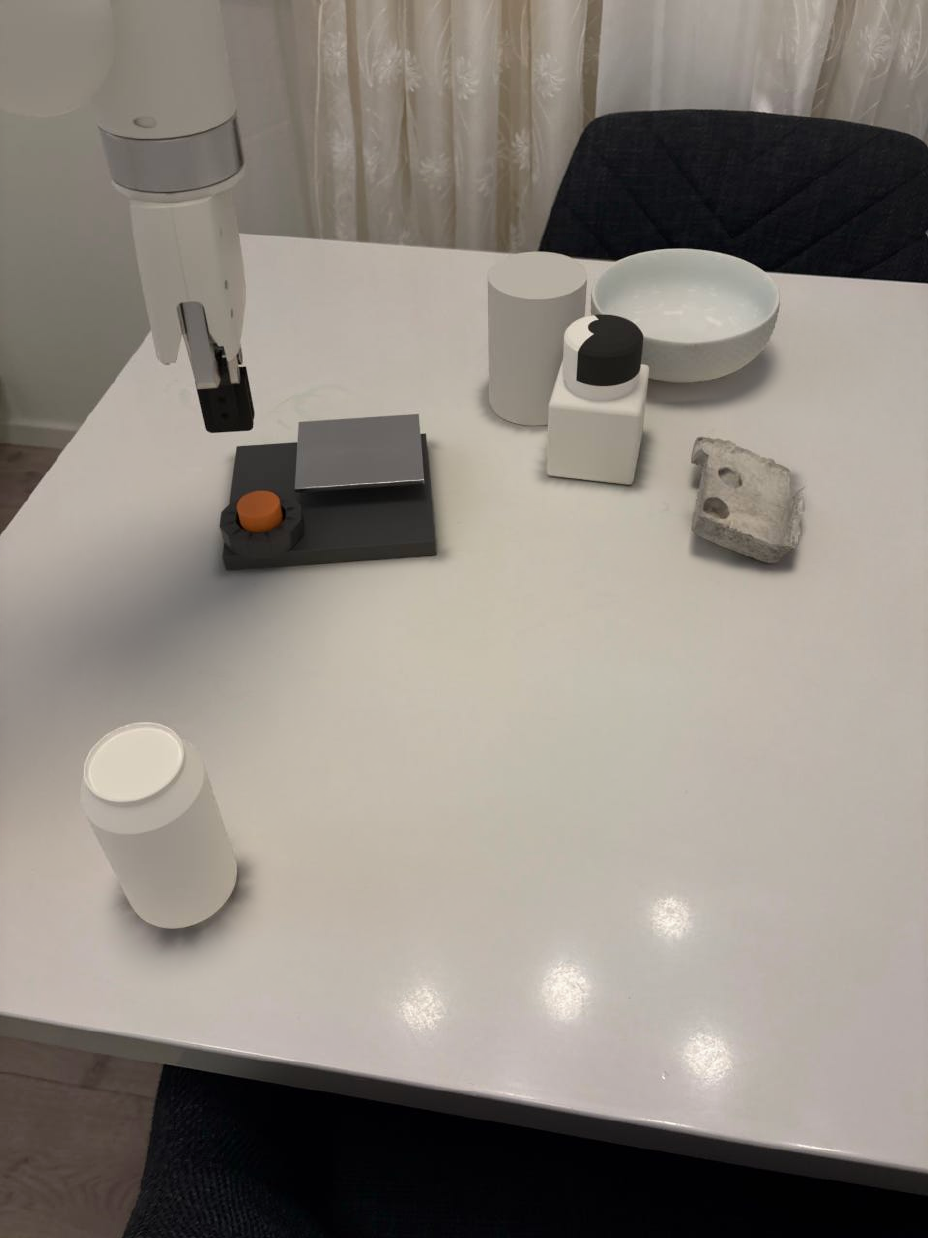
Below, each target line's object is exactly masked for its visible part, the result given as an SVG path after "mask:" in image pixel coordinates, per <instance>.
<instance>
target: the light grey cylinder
mask: <svg viewBox="0 0 928 1238" xmlns="http://www.w3.org/2000/svg"><path fill="white" fill-rule="evenodd" d="M587 285H588V272H587V269H586V267H585V266H584V265H583V264H582V263H581V262H579V261H578V260H577V259H575V258H572V257H570V256H568V255H565V254H562V253H557V252H550V251H525V252H519V253H518V252H517V253H514V254H511V255H507V256H505V257H502V258H500V259H499V260H497V261H496V262H494V263H493V264H492V265H491V266H490V267H489V269H488V272H487V329H488V330H487V331H488V335H487V336H488V342H487V343H488V344H487V345H488V346H487V347H488V400H489V401H488V404H489V406H490V408H491V410H492V412H494V414H496V415H497V416H498V417H500V418H501V419H503V420H505V421H507V422H510V423H513V424H517V425H521V426H528V427H529V426H532V427H538V426H539V427H541V426H548V413H549V402H550V399H551V396H552V392H553V389H554V386H555V383H556V379H557V376H558V373H559V370H560V366H561V363H562V360H563V350H564V333H565V331H566V329H567V328H568V327H569V326H570V325H571V324H572V323H573V322H575V321H576V320H578V319H580V318H583V317H586V301H587V287H588V286H587Z"/></svg>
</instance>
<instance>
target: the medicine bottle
mask: <svg viewBox="0 0 928 1238" xmlns="http://www.w3.org/2000/svg"><path fill="white" fill-rule="evenodd" d="M642 348H643V334H642V332H641V330H640V329H639V328H638V326H637V325H636V324H635V323H633V322H632V321H630V320H628V319H626V318H623V317H619V316H615V315H607V314H599V315H591V314H590V315H585V317H583V318H580V319H578V320H576V321H575V322H573V323H572V324H571V325H570V326H569V327H568V328H567V329H566V331H565V333H564V350H563V360H562V363H561V366H560V370H559V373H558V376H557V379H556V383H555V386H554V389H553V392H552V396H551V399H550V402H549V413H548V425H547V443H546V445H547V446H546V448H547V449H546V474H547V475H548V476H550V477H558V478H559V477H560V478H567V479H576V480H585V481H593V482H601V483H602V482H603V483H609V484H610V483H611V484H619V485H629V486H630V485H632V484H633V482H634V481H635V475H636V470H637V463H638V460H639V454H640V449H641V442H642V437H643V430H644V420H645V411H646V404H647V403H646V402H647V393H648V385H649V378H648V377H649V367H648V366H647V365H643V364H641V357H642Z"/></svg>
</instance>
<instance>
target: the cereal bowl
mask: <svg viewBox="0 0 928 1238" xmlns="http://www.w3.org/2000/svg"><path fill="white" fill-rule="evenodd" d="M780 306H781V293H780V290H779V286H778V285H777V283H776V282H775V280H774V279H773V278H772V277H771V276H770V275H769V274H768V273H767V272H766V271H764V270H763V269H762V268H761V267H759V266H757V265H755V264H753V263H751V262H749V261H747V260H745V259H743V258H740V257H736V256H735V255H730V254H727V253H722V252H718V251H712V250H706V249H704V250H703V249H695V248H664V249H663V248H662V249H655V250H649V251H643V252H638V253H635V254H632V255H629V256H625V257H623V258H621V259H618V260H617V261H614V262H613V263H611V264H610V265H608V266H607V267H605V269H603V270H602V271H601V272H600V273H599V274H598V276H597V277H596V278H595V280H594V282H593V284H592V287H591V292H590V315H599V314H607V315H615V316H619V317H623V318H626V319H628V320H630V321H632V322H633V323H635V324H636V325H637V326H638V328H639V329H640V330H641V332H642V334H643V348H642V357H641V364H643V365H647V366H648V367H649V377H648V379H651V380H656V381H661V382H667V383H680V384H682V383H696V382H697V383H700V382H706V381H711V380H712V381H713V380H715V379H719V378H722V377H726V376H728V375H730V374H732V373H735V372H736V371H739V370H741V369H742V368H743V367H745V366H747V365H748V364H749V363H751V362H752V361H753V360H754V359H756V358H757V357H758V356H759V355H760V354H761V353H762V352H763V350H764V349H765V348H766V346H767V344H768V343H769V342H770V339H771V338H772V335H773V333H774V330H775V328H776V324H777V321H778V316H779V315H778V314H779V313H780Z"/></svg>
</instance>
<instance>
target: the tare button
mask: <svg viewBox="0 0 928 1238" xmlns="http://www.w3.org/2000/svg"><path fill="white" fill-rule="evenodd" d="M237 511H238V515H239V519H240V524H241V526H242V527H243V528H244V529H245V530H247V531H249V532H253V533H255V532H266V531H269V530H271V529H273V528H276V527H277V526H279V524H280V523H281V522H282V518H283V515H282V510H281V505H280V500H279V498H278V496H277V495H275V494H274V493H272V492H269V491H255V492H251V493H248V494H246V495H245V496H243V497H242V498H241V499H240V500H239V501H238V503H237Z"/></svg>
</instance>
